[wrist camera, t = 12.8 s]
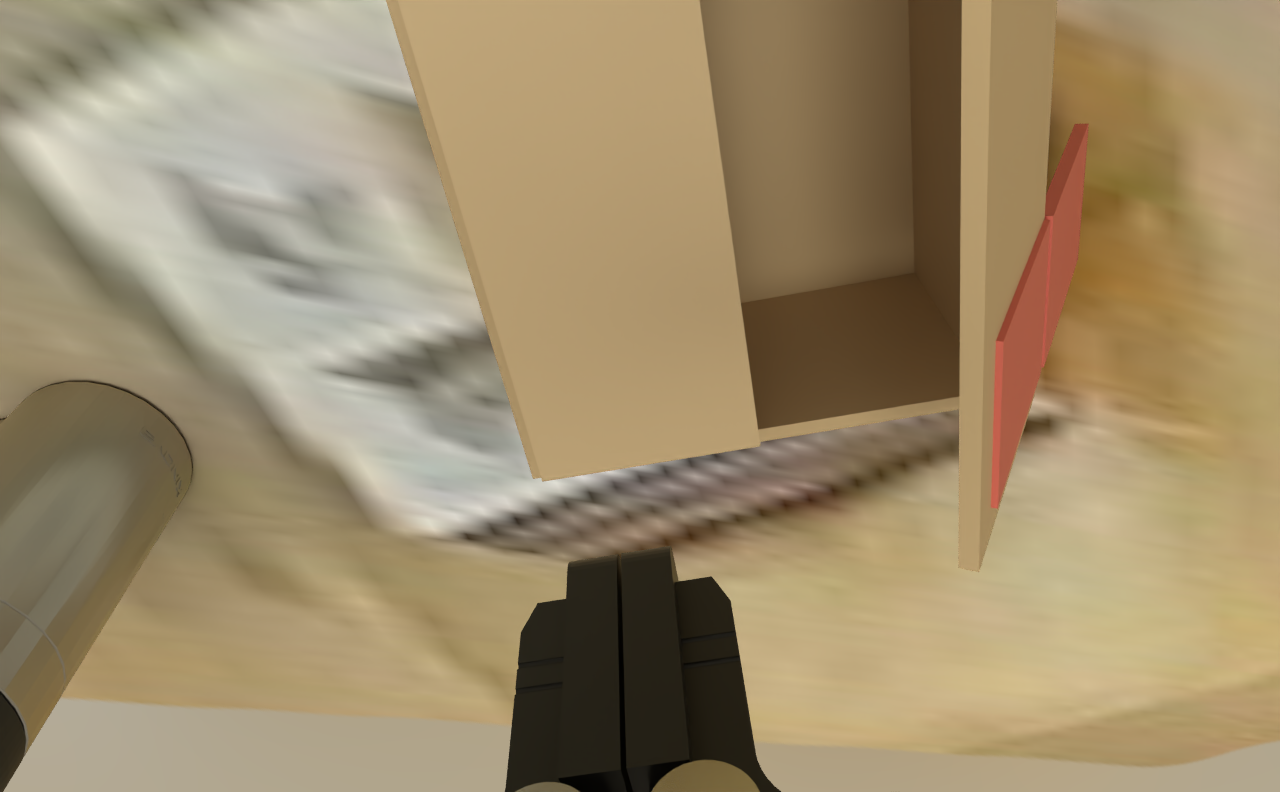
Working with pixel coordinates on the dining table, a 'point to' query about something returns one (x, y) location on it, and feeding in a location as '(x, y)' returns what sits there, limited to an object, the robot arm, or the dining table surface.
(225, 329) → the dining table surface
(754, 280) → the carton
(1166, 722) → the dining table surface
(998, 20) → the flap
